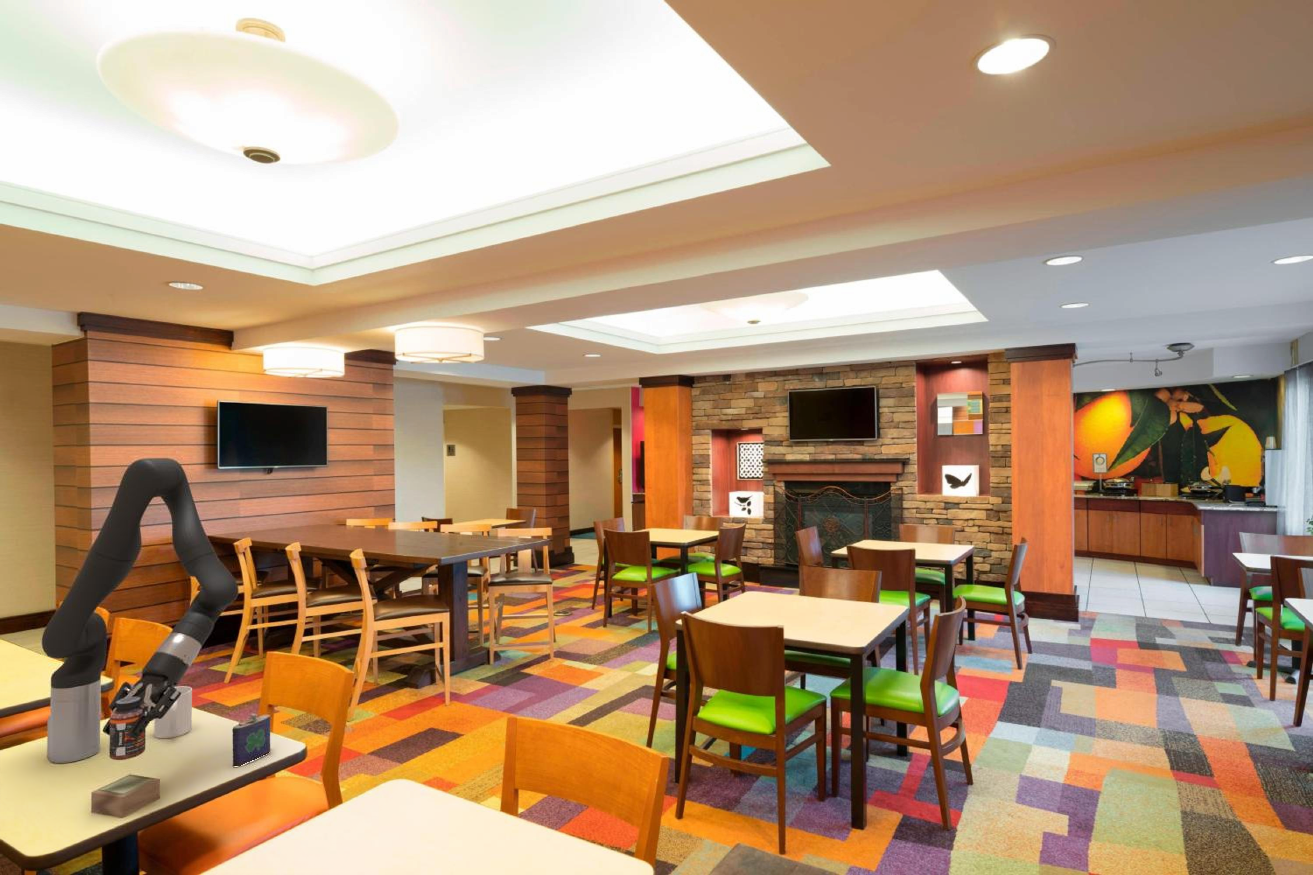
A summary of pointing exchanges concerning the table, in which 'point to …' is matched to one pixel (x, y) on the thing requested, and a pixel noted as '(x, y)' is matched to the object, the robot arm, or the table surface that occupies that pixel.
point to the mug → (176, 716)
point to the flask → (251, 739)
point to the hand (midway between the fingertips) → (119, 734)
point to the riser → (125, 795)
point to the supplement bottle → (125, 730)
